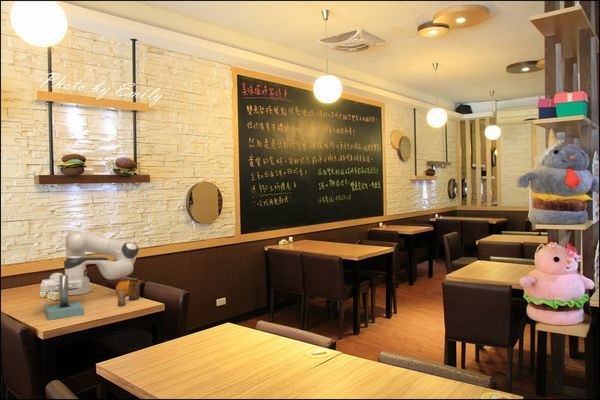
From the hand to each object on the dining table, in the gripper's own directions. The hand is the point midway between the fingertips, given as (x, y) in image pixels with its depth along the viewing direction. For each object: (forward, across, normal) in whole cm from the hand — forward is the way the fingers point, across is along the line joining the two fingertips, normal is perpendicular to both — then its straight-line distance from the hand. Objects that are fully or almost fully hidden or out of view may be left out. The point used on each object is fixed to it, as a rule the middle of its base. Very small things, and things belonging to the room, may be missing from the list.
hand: (64, 288), depth 231 cm
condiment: (-12, -39, -14) cm, 43 cm away
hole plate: (-1, 0, -14) cm, 14 cm away
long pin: (-1, 0, -10) cm, 10 cm away
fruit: (-27, -38, -14) cm, 49 cm away
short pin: (-1, -29, -14) cm, 32 cm away
